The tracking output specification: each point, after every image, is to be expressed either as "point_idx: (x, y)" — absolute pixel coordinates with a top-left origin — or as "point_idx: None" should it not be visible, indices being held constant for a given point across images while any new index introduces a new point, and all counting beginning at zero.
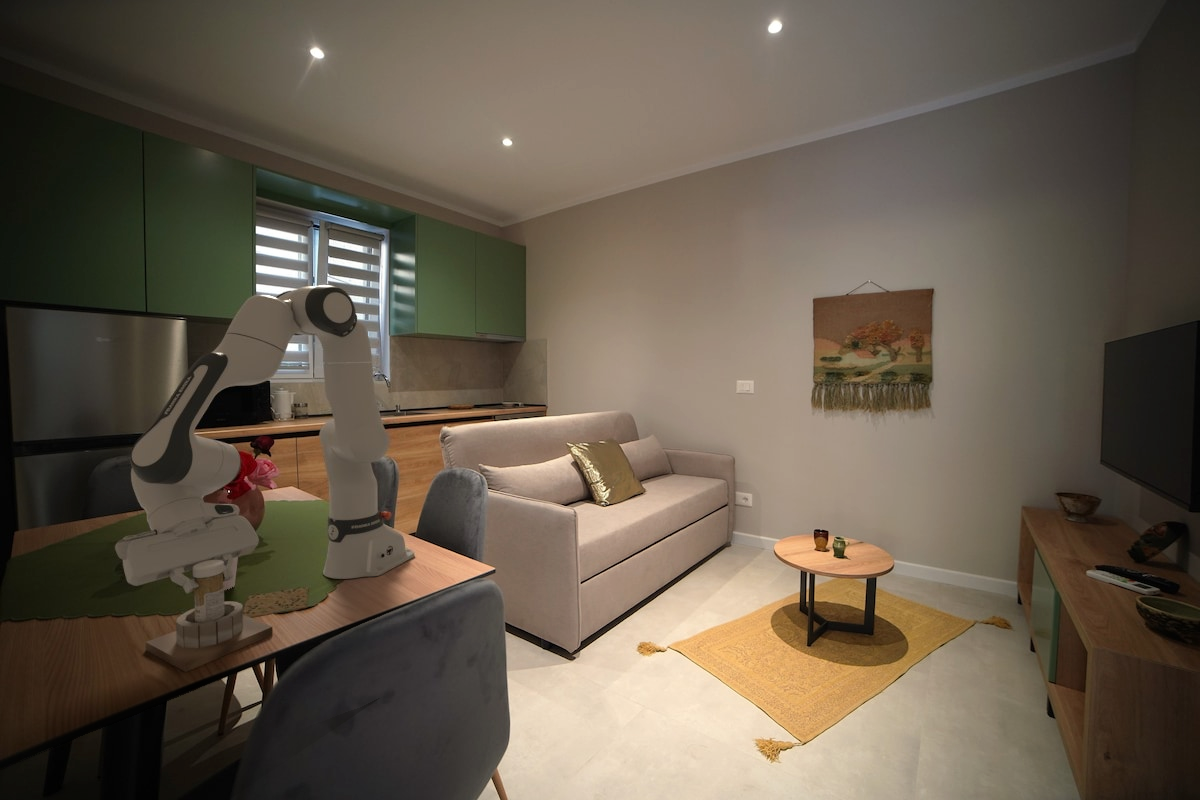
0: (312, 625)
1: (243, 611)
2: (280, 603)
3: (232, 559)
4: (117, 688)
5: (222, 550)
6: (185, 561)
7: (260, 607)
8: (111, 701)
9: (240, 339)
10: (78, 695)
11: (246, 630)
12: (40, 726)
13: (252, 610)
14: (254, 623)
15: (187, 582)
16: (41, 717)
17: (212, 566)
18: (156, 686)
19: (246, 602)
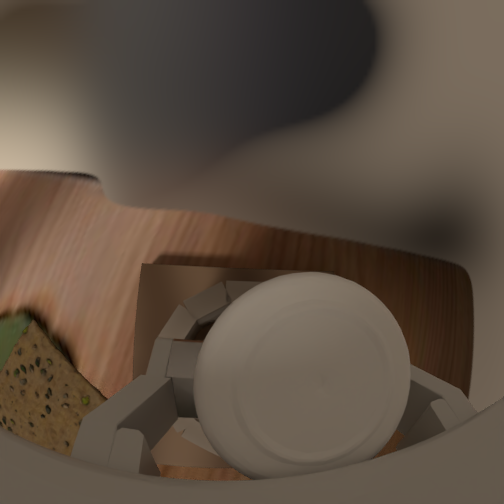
0: (89, 229)
1: None
2: (44, 397)
3: (92, 412)
4: (403, 326)
5: (123, 499)
6: (463, 435)
7: (78, 428)
8: (413, 290)
9: None
10: (433, 353)
11: (182, 304)
12: (459, 302)
13: None
14: (148, 324)
15: None
16: (458, 326)
17: (329, 279)
18: (368, 275)
19: None
